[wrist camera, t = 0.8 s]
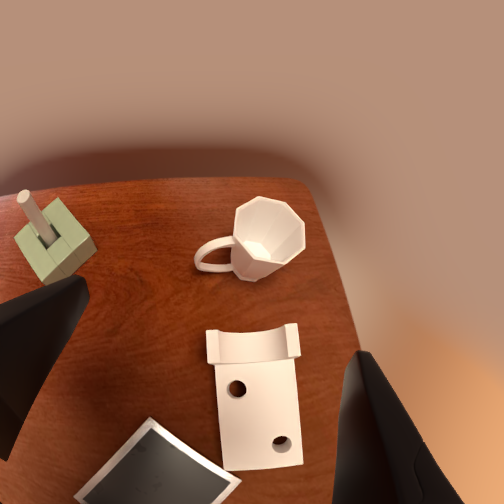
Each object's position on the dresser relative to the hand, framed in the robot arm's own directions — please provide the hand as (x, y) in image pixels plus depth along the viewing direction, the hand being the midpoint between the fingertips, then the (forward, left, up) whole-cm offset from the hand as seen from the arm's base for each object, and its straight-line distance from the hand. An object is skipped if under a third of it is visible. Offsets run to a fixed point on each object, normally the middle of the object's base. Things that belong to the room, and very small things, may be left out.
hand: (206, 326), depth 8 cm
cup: (+12, +3, -20) cm, 24 cm away
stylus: (-1, +19, -20) cm, 28 cm away
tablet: (-13, -6, -20) cm, 25 cm away
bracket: (+1, -7, -20) cm, 22 cm away
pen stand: (-1, +19, -20) cm, 28 cm away
